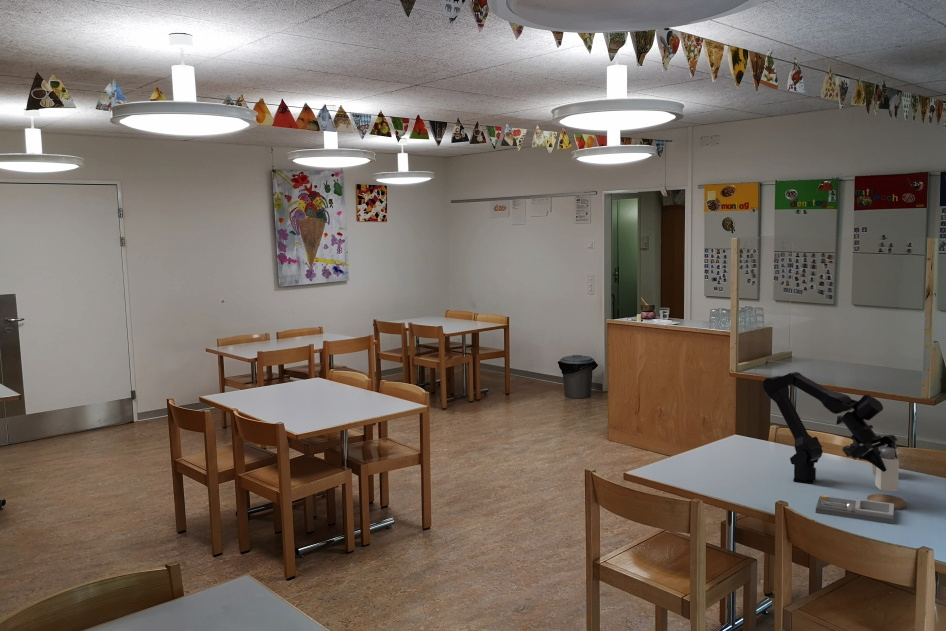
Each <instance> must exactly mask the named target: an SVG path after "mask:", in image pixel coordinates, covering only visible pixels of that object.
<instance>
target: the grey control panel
mask: <svg viewBox="0 0 946 631" xmlns="http://www.w3.org/2000/svg"><path fill="white" fill-rule="evenodd" d="M818 500H822V501H829V502H837V503H844V504H847V503H853V512H848V511H847V507H841V506H834V505H827V504H821V506H818V502H817V504H816V506H815V513H816V514H821V515H829V516H836V517H843V518H849V519H855V520H861V521H863V520H864V521H868V522H869V521H870V522H876V523H881V524H890V525H894V513H895V510H894V504H893V503H885V502H878V501H871V500H867V499H863V498H856V500H852V499H846V498H839V497H833V496H832V497H831V496H828V495H825V494H822V495H819V497H818ZM862 508H863V509H862ZM869 509H870V510H869Z"/></svg>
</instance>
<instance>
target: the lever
mask: <svg viewBox="0 0 946 631" xmlns="http://www.w3.org/2000/svg"><path fill="white" fill-rule="evenodd" d="M817 503H818V506H821V504H827V505H834V506H841V507H847V511H848V512H853V503H847V504H844V503H837V502H829V501H822V500H819V499H818V501H817Z"/></svg>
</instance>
